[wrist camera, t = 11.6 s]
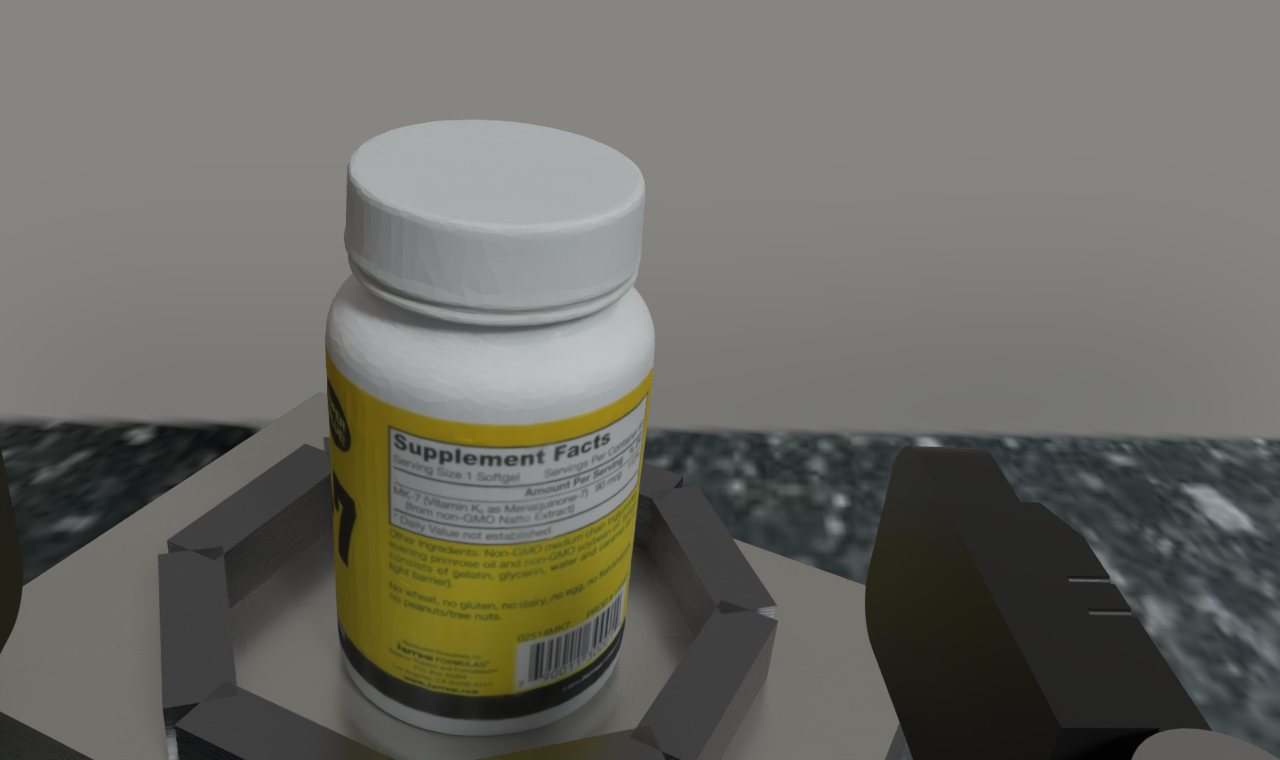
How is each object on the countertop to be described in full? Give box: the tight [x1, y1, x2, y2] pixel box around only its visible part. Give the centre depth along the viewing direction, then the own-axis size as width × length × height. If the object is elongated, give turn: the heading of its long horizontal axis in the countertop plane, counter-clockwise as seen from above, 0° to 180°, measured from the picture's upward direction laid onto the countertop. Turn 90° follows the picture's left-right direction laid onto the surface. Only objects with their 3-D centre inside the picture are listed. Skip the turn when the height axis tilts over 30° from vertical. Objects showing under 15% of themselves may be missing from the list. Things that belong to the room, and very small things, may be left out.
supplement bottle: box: [325, 120, 655, 736], centre depth 18 cm, size 5×5×8 cm
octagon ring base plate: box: [0, 392, 907, 760], centre depth 21 cm, size 14×10×5 cm
